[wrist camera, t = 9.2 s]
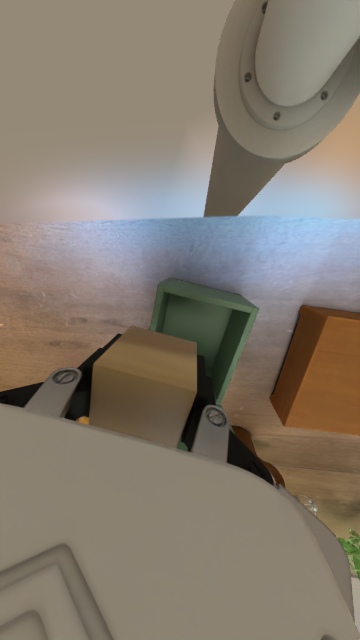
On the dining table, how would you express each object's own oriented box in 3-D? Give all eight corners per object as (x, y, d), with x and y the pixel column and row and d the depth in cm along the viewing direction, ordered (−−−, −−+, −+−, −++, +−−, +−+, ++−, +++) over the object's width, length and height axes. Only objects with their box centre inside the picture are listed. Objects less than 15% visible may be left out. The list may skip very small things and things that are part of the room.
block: (131, 324, 11) (92, 363, 7) (197, 342, 11) (197, 391, 7) (123, 378, 13) (86, 436, 9) (180, 393, 13) (173, 460, 9)
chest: (169, 277, 29) (158, 283, 20) (241, 295, 29) (259, 308, 20) (153, 355, 34) (139, 385, 26) (214, 370, 34) (220, 405, 26)
